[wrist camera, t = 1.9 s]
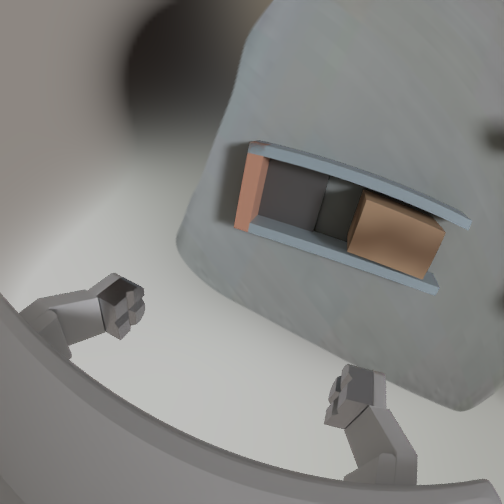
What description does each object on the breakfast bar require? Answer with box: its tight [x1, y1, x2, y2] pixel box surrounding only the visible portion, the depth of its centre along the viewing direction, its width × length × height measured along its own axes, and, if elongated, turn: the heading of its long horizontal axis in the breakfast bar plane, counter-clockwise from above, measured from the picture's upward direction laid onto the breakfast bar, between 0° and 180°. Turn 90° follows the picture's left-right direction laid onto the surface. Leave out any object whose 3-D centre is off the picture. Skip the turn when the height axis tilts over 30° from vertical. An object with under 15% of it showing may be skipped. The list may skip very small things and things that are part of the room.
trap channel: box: [234, 140, 472, 296], centre depth 24 cm, size 9×22×3 cm, turn 79°
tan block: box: [347, 189, 446, 280], centre depth 23 cm, size 5×8×4 cm, turn 78°
